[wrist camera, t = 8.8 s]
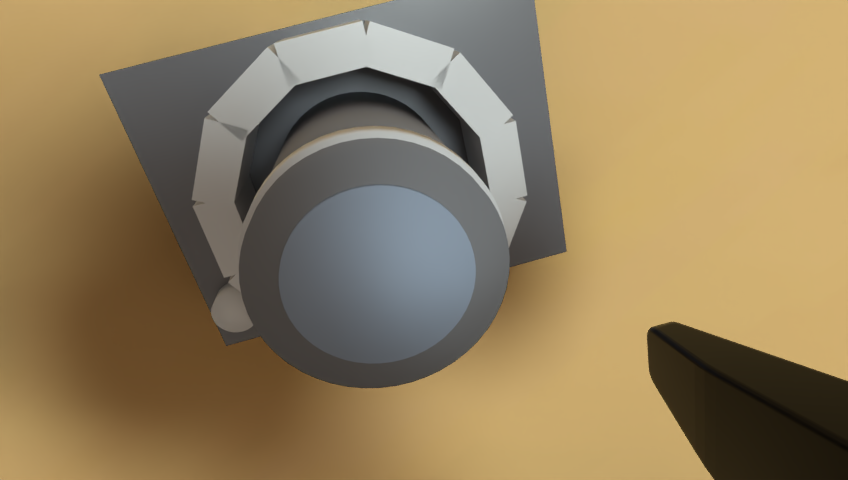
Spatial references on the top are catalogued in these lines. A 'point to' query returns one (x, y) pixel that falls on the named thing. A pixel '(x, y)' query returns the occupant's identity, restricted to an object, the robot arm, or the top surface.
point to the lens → (371, 247)
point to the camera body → (326, 77)
